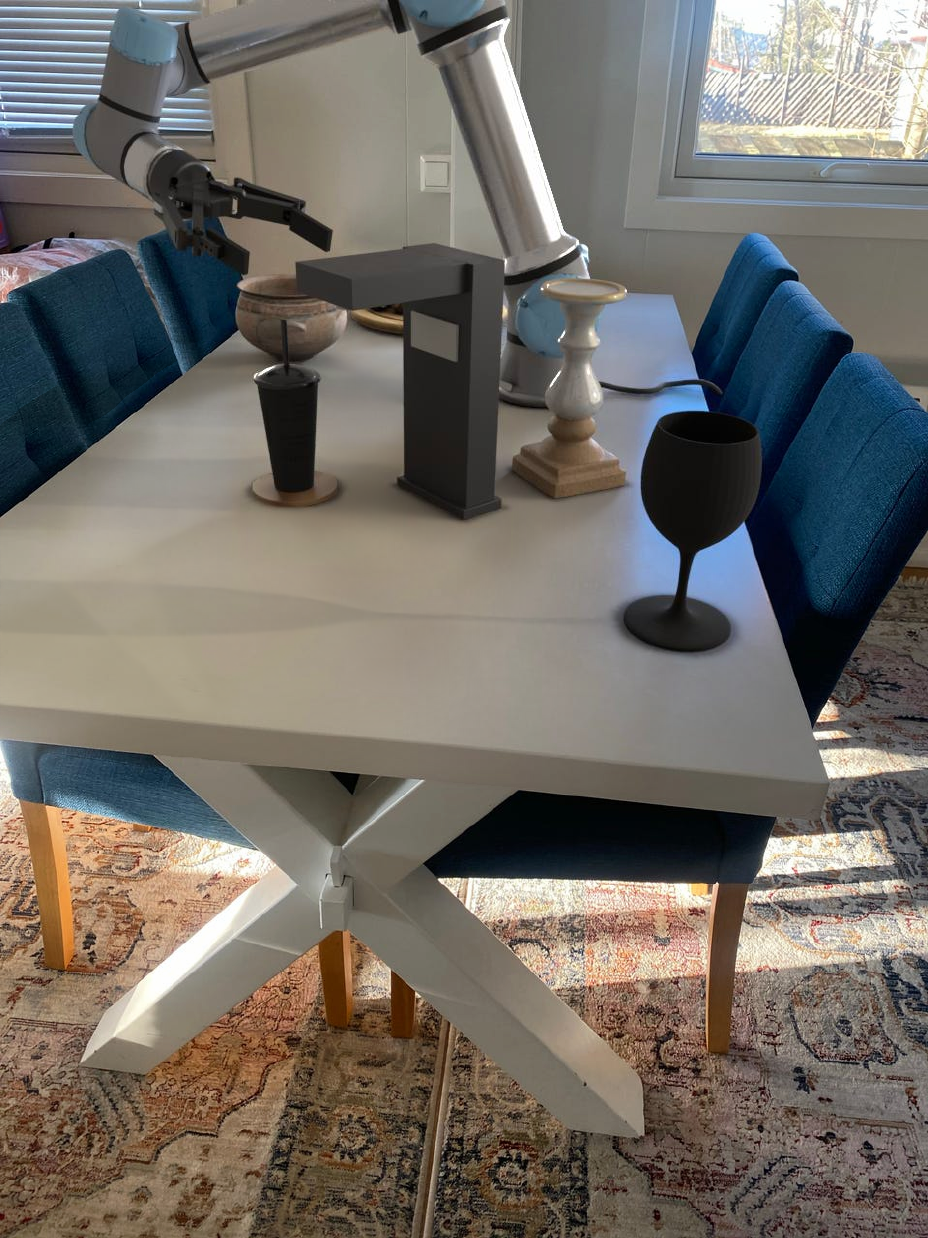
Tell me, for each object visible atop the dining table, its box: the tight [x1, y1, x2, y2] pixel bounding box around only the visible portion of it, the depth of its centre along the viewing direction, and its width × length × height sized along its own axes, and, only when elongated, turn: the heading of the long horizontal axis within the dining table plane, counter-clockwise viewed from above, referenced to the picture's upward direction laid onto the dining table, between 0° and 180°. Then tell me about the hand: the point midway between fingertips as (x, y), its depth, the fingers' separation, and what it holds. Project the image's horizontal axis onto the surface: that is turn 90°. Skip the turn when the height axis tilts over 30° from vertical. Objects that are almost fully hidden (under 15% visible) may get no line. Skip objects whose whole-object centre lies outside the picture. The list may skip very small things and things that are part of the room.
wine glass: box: [623, 410, 763, 653], centre depth 90 cm, size 10×10×20 cm
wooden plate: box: [349, 303, 508, 335], centre depth 195 cm, size 32×32×8 cm
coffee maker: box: [294, 242, 505, 521], centre depth 109 cm, size 20×13×28 cm, turn 130°
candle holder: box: [511, 278, 628, 499], centre depth 120 cm, size 11×11×24 cm
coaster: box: [251, 470, 339, 508], centre depth 120 cm, size 10×10×1 cm
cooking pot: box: [235, 273, 348, 362], centre depth 168 cm, size 25×19×12 cm
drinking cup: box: [253, 320, 322, 492], centre depth 115 cm, size 8×8×20 cm
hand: (289, 252), depth 116 cm, fingers open, 13 cm apart
